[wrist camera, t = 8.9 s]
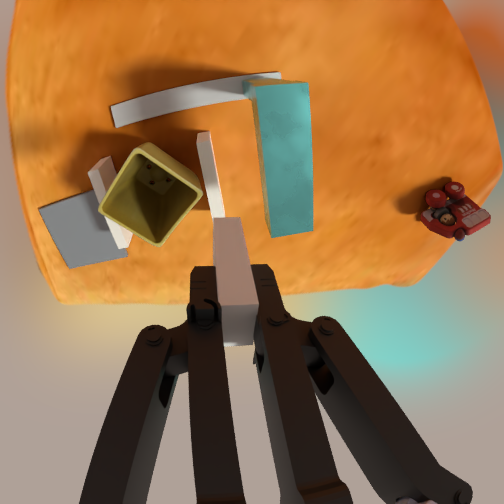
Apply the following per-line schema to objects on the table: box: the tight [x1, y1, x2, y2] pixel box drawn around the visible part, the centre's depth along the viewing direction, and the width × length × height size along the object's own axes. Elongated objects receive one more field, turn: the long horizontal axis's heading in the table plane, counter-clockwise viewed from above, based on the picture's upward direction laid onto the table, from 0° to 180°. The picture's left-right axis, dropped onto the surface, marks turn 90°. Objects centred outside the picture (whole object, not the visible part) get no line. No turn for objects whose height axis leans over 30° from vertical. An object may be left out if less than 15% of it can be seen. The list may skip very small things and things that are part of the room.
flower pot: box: [98, 142, 203, 247], centre depth 31 cm, size 9×9×9 cm
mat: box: [39, 190, 128, 269], centre depth 37 cm, size 12×12×1 cm
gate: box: [242, 77, 313, 238], centre depth 27 cm, size 14×4×14 cm, turn 7°
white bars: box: [88, 72, 281, 249], centre depth 32 cm, size 18×24×5 cm
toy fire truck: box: [421, 182, 491, 241], centre depth 40 cm, size 7×12×10 cm, turn 112°
